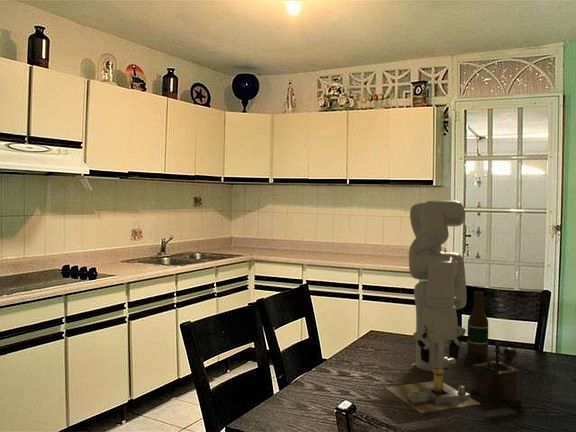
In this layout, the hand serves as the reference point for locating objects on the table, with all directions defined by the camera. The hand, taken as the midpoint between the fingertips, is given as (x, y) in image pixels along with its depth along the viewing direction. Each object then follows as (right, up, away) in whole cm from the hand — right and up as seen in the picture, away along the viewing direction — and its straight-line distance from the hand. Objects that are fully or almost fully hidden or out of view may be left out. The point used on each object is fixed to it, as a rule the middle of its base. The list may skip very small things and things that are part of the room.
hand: (439, 359), depth 152 cm
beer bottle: (+30, -12, +51) cm, 60 cm away
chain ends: (0, -12, 0) cm, 12 cm away
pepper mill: (+20, -14, +3) cm, 24 cm away
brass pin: (0, -12, 0) cm, 12 cm away
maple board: (-2, -13, +4) cm, 14 cm away
